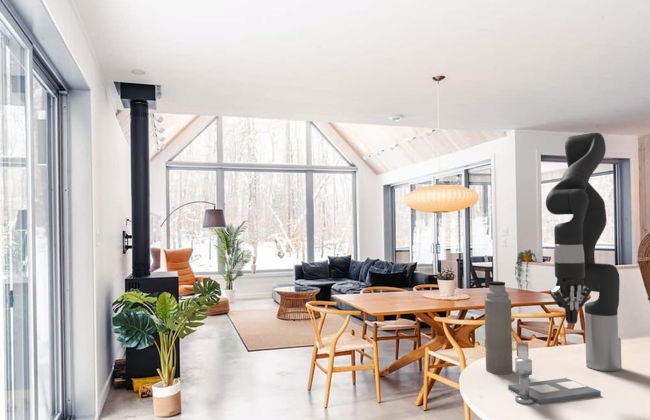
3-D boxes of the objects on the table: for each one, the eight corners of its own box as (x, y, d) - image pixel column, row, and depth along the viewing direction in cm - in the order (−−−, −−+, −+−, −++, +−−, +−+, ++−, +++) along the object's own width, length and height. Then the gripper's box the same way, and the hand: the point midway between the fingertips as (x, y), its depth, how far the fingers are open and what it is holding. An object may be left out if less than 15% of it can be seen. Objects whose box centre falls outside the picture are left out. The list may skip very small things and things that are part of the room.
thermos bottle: (510, 367, 156) (508, 280, 157) (514, 374, 148) (512, 283, 149) (484, 366, 157) (482, 280, 158) (487, 373, 150) (485, 282, 151)
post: (525, 397, 128) (525, 371, 129) (537, 403, 124) (536, 376, 124) (511, 399, 127) (511, 373, 127) (523, 405, 123) (522, 378, 123)
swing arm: (532, 376, 123) (532, 361, 123) (515, 375, 125) (515, 360, 125) (529, 355, 144) (529, 342, 144) (515, 354, 145) (515, 341, 145)
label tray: (566, 382, 141) (566, 376, 141) (600, 395, 129) (600, 390, 129) (508, 389, 135) (508, 384, 135) (539, 404, 123) (538, 398, 123)
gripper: (577, 258, 140) (579, 318, 140) (540, 260, 136) (542, 322, 136) (599, 260, 133) (601, 323, 133) (560, 262, 129) (563, 328, 128)
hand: (571, 323), depth 134 cm, fingers closed
